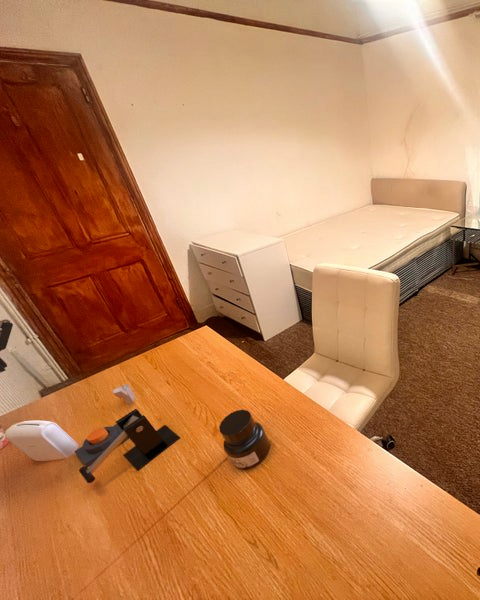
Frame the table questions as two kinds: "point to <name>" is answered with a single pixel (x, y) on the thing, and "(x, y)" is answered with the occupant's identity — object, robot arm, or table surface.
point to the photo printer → (41, 440)
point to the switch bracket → (145, 439)
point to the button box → (98, 446)
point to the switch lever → (104, 454)
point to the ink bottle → (244, 439)
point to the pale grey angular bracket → (125, 393)
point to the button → (97, 436)
